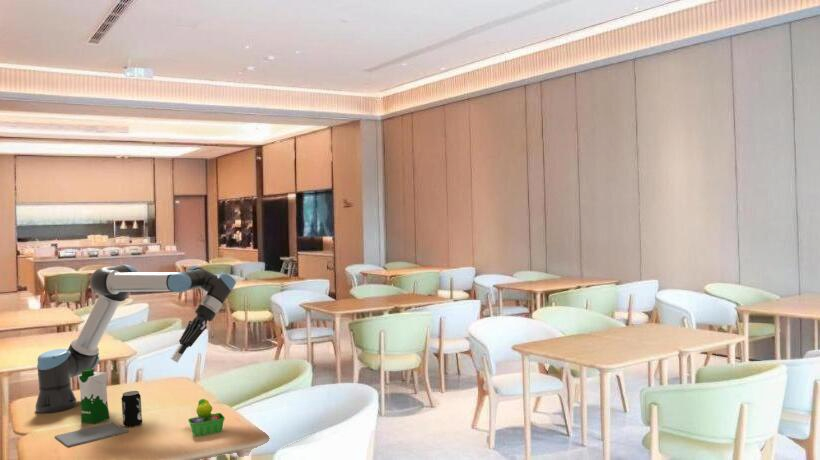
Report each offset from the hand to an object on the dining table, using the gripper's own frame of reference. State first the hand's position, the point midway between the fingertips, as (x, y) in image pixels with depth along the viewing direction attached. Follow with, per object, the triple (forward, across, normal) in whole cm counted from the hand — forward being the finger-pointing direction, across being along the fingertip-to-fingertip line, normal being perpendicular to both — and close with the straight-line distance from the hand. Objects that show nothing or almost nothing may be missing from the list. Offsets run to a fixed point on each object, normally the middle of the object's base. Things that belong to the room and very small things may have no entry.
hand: (173, 360), depth 265 cm
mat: (+36, +2, -11) cm, 38 cm away
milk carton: (+33, -16, -6) cm, 37 cm away
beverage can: (+27, +1, 0) cm, 27 cm away
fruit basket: (+17, +32, +12) cm, 38 cm away
